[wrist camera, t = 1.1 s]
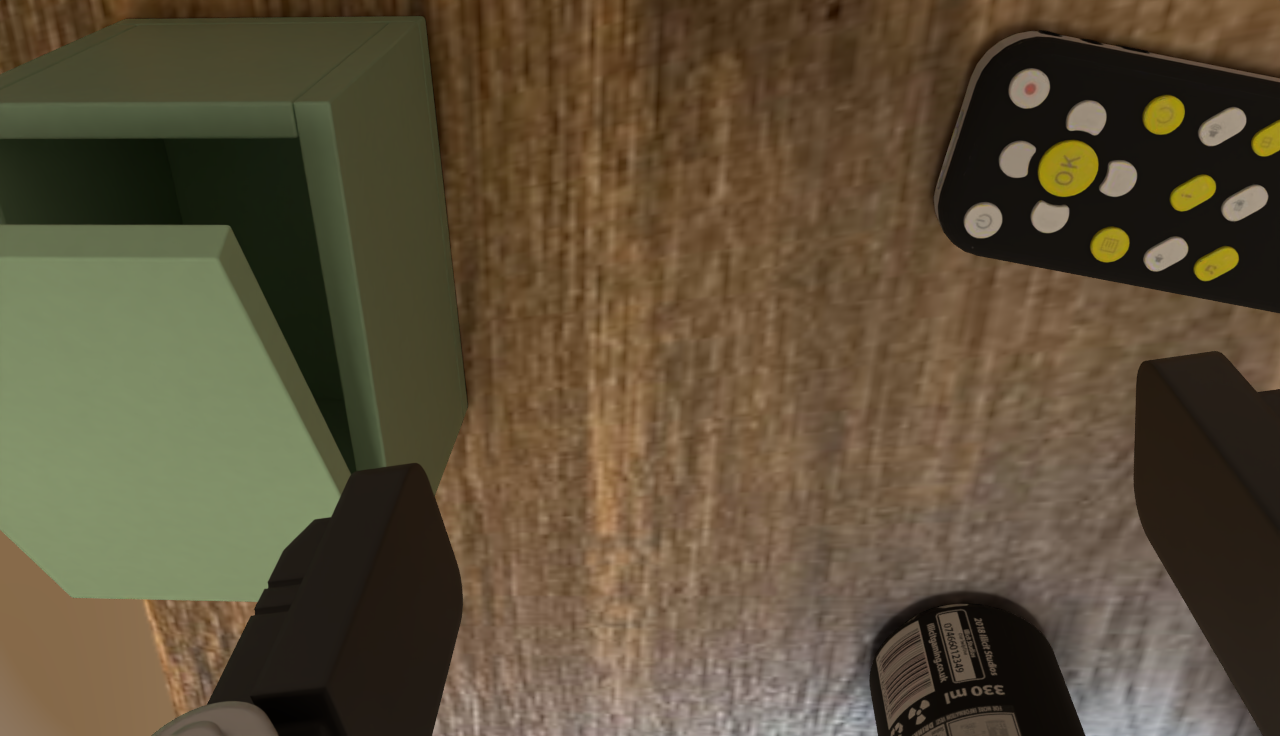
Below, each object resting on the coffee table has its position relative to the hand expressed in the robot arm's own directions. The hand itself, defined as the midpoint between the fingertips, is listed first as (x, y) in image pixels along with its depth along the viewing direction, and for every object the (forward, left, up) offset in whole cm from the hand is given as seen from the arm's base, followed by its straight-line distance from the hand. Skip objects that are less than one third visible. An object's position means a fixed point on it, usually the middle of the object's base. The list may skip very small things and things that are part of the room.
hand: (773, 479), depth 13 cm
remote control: (+12, +2, -21) cm, 24 cm away
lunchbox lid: (-9, -10, -9) cm, 17 cm away
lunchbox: (-10, -10, -21) cm, 25 cm away
